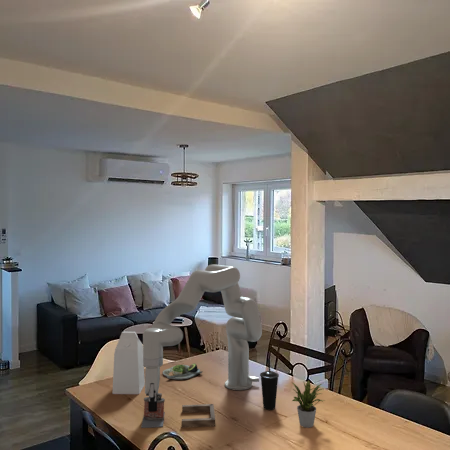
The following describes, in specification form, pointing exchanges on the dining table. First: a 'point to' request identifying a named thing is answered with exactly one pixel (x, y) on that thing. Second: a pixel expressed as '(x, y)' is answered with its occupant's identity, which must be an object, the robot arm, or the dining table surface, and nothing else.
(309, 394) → the house plant
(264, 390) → the drinking cup
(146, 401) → the lighter
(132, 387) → the milk
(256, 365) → the dining table surface
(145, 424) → the grey mat
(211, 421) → the walnut stand
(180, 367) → the salad plate
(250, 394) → the dining table surface
